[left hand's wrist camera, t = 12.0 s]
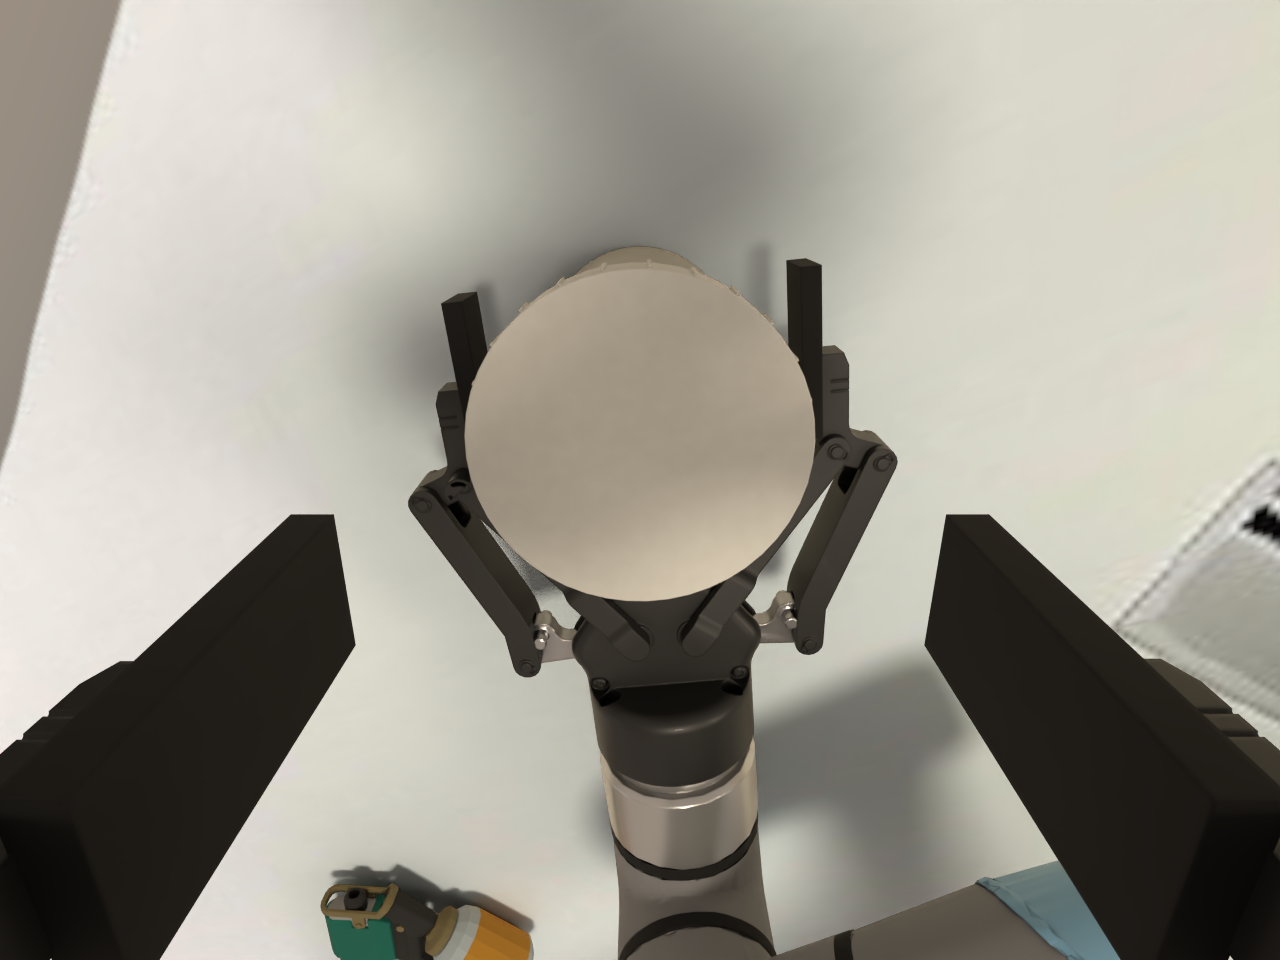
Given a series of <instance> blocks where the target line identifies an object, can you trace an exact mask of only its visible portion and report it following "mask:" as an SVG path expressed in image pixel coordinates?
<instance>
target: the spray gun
mask: <svg viewBox="0 0 1280 960" xmlns="http://www.w3.org/2000/svg"><path fill="white" fill-rule="evenodd" d="M340 891H341V892H347V893H346V895H345V896H339V897H337V898H335V899H333V900H332V901H330V902H329V903H328V901H329V899H330V897H331V896H332V894H334V893H335V892H340ZM375 894H379V895H378V896H377V899H376V898H375ZM383 894H388V895H387V896H386V897H385V896H384V895H383ZM327 903H328V905H327ZM326 905H327V906H326ZM321 911H322V913H323V914H324V915H325V918H326V923H327V927H328V932H329V936H330V941H331V945H332V949H333V952H334V954H335V955H336V956H337V957H338V958H340V959H341V960H533V956H534V950H533V944H532V940H531V937H530V935H529V934H528V933H526V932H525V931H523V930H521V929H519V928H517V927H515V926H513V925H511V924H509V923H508V922H506V921H504V920H502V919H500V918H498V917H496V916H494V915H492V914H491V913H489V912H487V911H485V910H483V909H481V908H479V907H476V906H471V905H464V906H462V907H460V908H458V909H456V908H454V907H452V906H447V907H445V908H444V909H443V910H442V911H441V912H440V913H438V914H436V913H435V912H434V911H433V910H431V909H430V908H428V907H427V906H425V905H423V904H422V903H420V902H419V901H417V900H415V899H414V898H412V897H411V896H409V895H407V894H406V893H404V892H403V891H401V890H398V886H397V885H395V884H393V883H391V884H390V885H389V886H388V887H373V886H358V885H343V884H338V885H334V886H332V887H330V888H329V889H328V890H327V892H326V893H325V895H324V897H323V899H322V901H321ZM425 934H426V941H425V937H424V935H425Z"/></svg>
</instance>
